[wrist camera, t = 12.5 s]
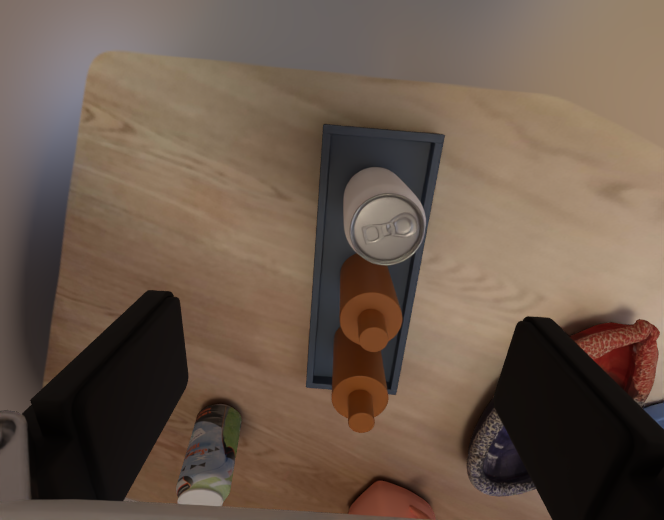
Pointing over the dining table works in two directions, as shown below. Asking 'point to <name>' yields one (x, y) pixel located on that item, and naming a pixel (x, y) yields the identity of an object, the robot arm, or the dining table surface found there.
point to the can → (382, 217)
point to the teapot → (391, 503)
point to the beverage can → (210, 457)
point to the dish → (611, 355)
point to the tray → (334, 249)
